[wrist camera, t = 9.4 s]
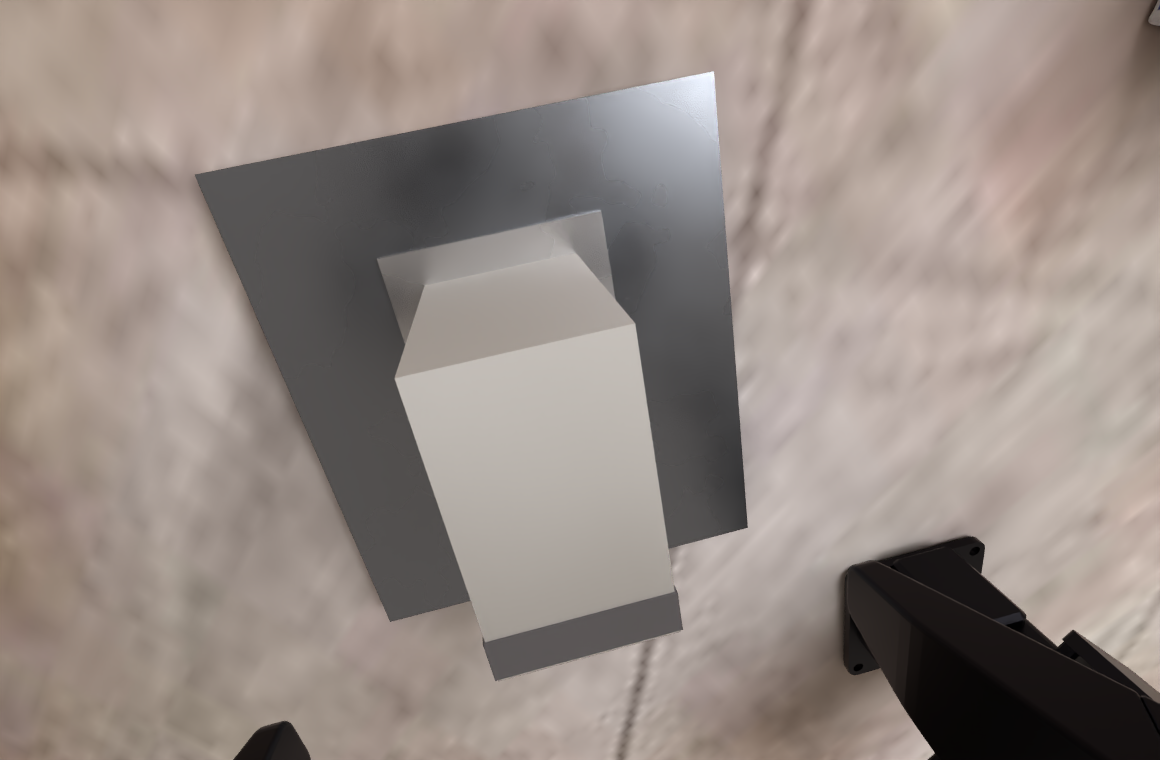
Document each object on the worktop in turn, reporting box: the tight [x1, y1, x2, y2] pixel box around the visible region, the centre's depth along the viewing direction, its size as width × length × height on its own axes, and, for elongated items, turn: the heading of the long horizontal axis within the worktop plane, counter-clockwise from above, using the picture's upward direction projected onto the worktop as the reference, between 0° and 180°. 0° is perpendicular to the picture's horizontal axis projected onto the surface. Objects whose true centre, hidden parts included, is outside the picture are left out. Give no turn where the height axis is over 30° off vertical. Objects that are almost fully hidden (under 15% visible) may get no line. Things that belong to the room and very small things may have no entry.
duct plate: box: [195, 72, 748, 622], centre depth 19 cm, size 16×14×1 cm
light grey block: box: [395, 253, 683, 681], centre depth 16 cm, size 5×8×7 cm, turn 10°
